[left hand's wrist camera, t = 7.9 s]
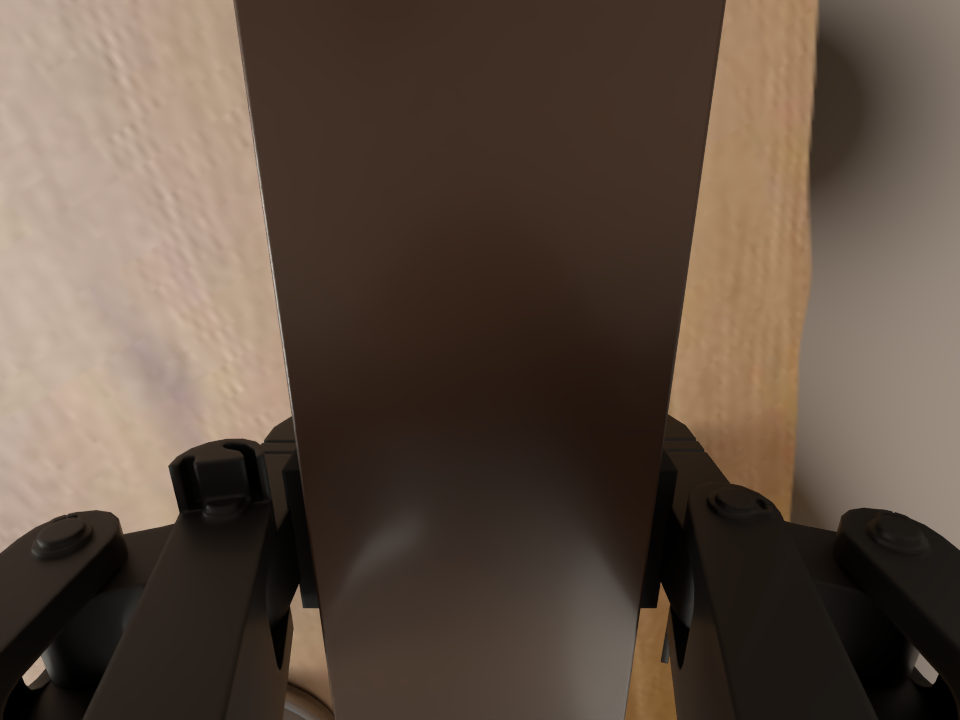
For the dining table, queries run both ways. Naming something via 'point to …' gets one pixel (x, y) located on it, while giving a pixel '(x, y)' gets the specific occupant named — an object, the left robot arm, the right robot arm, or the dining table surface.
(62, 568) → the left robot arm
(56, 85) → the dining table surface
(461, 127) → the plank
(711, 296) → the dining table surface
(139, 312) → the dining table surface
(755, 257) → the dining table surface
